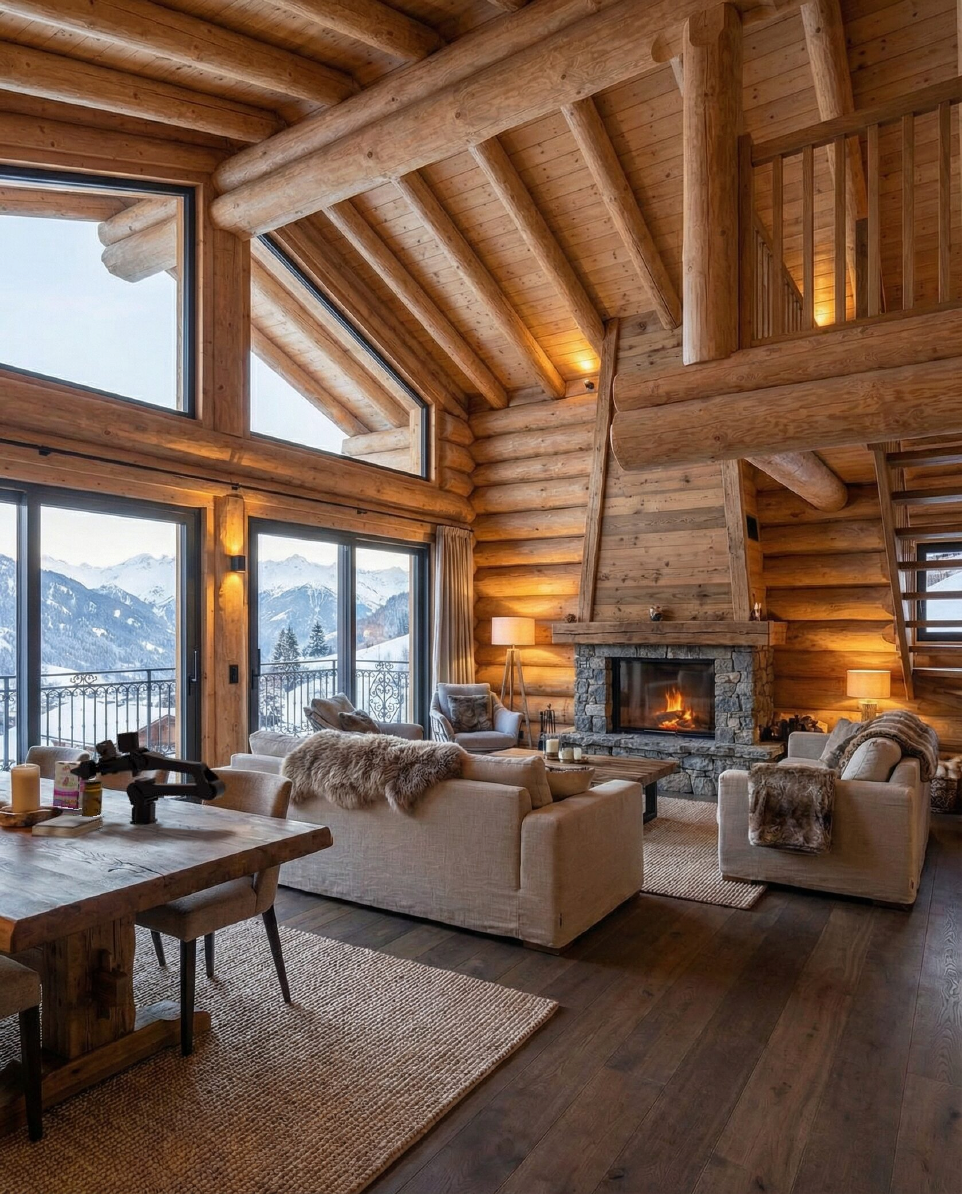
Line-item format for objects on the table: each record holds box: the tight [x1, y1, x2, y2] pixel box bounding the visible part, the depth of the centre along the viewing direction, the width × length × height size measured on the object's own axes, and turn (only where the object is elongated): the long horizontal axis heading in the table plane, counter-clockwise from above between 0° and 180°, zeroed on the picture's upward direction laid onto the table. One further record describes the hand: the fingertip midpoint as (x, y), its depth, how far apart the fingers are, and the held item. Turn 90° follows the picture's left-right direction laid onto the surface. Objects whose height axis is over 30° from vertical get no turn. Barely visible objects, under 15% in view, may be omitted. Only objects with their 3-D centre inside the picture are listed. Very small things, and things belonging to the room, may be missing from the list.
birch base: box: [31, 814, 103, 838], centre depth 255 cm, size 14×14×3 cm
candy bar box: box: [52, 760, 87, 809], centre depth 287 cm, size 11×5×16 cm, turn 73°
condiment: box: [81, 779, 103, 817], centre depth 275 cm, size 7×8×12 cm
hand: (79, 769), depth 273 cm, fingers open, 9 cm apart
